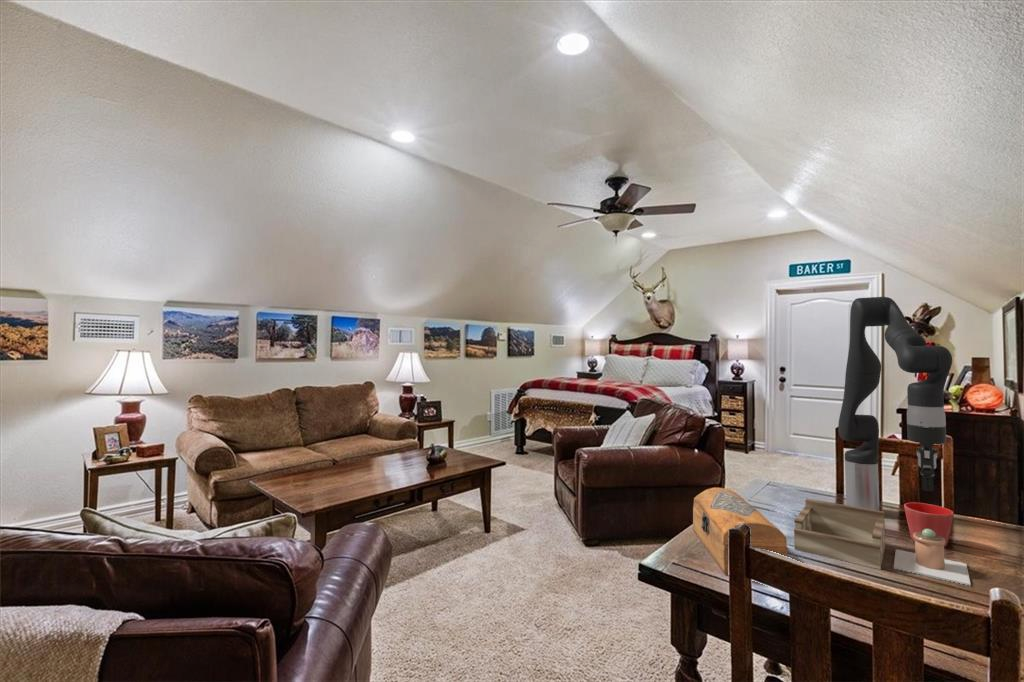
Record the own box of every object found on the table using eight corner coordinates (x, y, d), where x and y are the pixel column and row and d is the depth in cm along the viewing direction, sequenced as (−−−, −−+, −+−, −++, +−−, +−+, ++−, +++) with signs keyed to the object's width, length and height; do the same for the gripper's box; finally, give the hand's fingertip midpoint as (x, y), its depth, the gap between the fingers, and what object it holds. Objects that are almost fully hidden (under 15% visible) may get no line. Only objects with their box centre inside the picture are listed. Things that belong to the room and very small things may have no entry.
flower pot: (965, 551, 130) (963, 515, 130) (919, 548, 132) (918, 513, 132) (938, 536, 140) (937, 503, 140) (896, 533, 142) (895, 501, 142)
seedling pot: (914, 557, 125) (912, 523, 125) (946, 563, 121) (944, 528, 121) (913, 565, 120) (912, 529, 120) (946, 572, 116) (945, 535, 116)
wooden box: (689, 531, 146) (688, 486, 147) (745, 533, 144) (744, 487, 144) (718, 576, 117) (717, 520, 117) (789, 580, 114) (788, 523, 115)
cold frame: (806, 529, 146) (805, 498, 146) (885, 545, 134) (884, 511, 134) (793, 549, 132) (793, 514, 132) (881, 569, 119) (880, 531, 119)
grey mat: (896, 550, 130) (895, 549, 130) (966, 565, 121) (966, 563, 121) (893, 568, 119) (893, 566, 119) (970, 586, 110) (970, 584, 110)
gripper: (907, 418, 129) (909, 478, 128) (906, 425, 118) (908, 490, 118) (944, 421, 124) (946, 483, 124) (946, 428, 113) (948, 496, 113)
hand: (927, 486), depth 121 cm, fingers open, 8 cm apart
